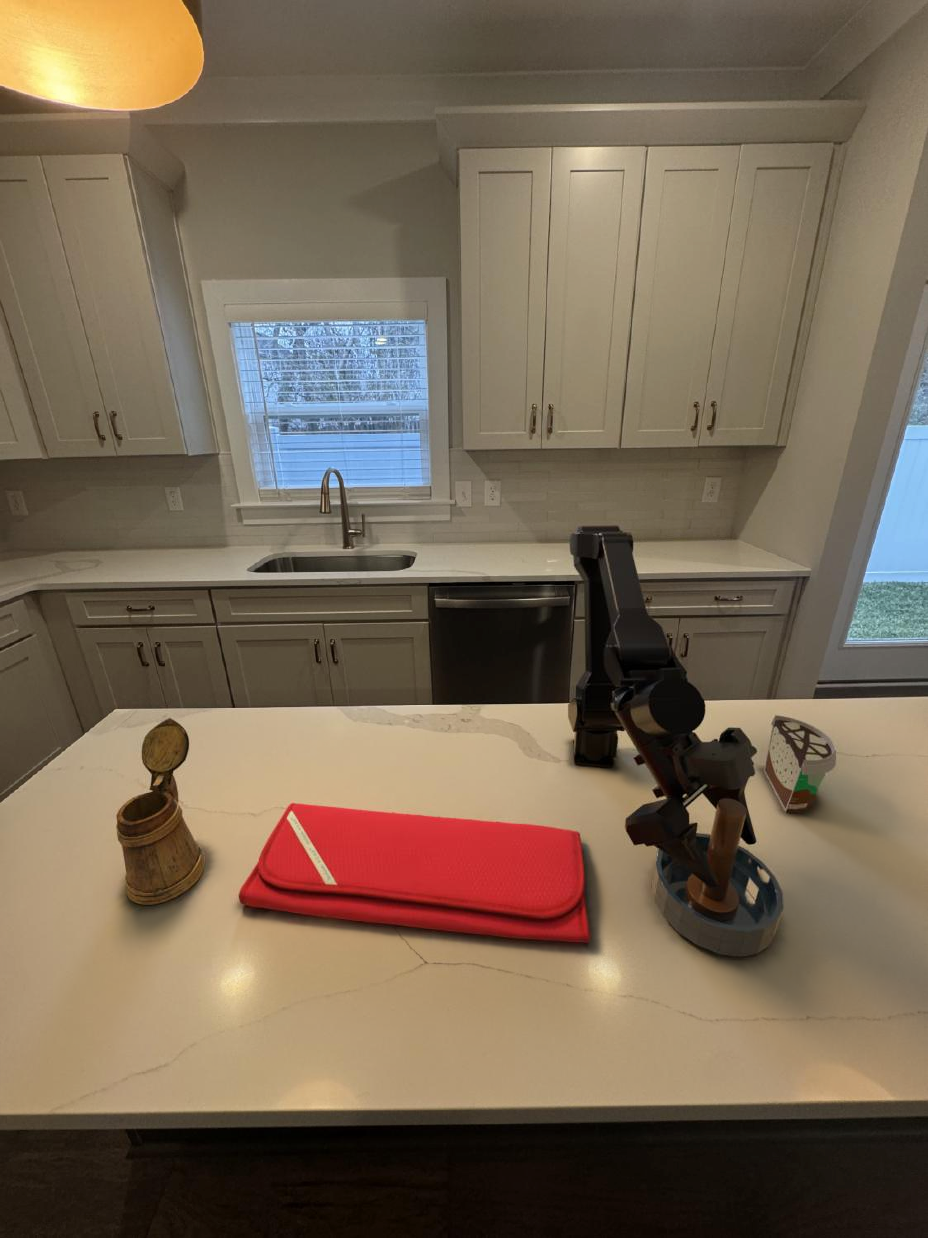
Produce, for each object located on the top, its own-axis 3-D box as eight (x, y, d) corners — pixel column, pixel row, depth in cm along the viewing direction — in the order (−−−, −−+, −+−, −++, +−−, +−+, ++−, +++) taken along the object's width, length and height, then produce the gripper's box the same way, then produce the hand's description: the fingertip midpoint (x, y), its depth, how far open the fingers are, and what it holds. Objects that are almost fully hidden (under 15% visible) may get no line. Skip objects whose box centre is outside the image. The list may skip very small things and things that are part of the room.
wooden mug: (230, 821, 74) (204, 716, 67) (185, 904, 61) (148, 785, 55) (169, 823, 74) (137, 717, 67) (111, 907, 61) (64, 787, 54)
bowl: (662, 950, 55) (668, 921, 54) (643, 853, 67) (647, 827, 66) (794, 969, 53) (804, 939, 51) (750, 866, 65) (757, 839, 63)
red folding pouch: (590, 951, 55) (593, 927, 54) (238, 912, 60) (232, 889, 59) (578, 839, 70) (580, 818, 68) (295, 815, 75) (291, 795, 73)
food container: (837, 825, 71) (857, 767, 67) (789, 819, 72) (806, 762, 69) (802, 769, 82) (817, 717, 79) (760, 765, 83) (773, 713, 80)
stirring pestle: (691, 917, 58) (711, 823, 53) (680, 877, 63) (698, 786, 58) (743, 925, 57) (770, 829, 52) (728, 883, 62) (751, 792, 57)
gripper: (664, 750, 48) (762, 913, 45) (751, 686, 59) (836, 813, 55) (591, 775, 57) (668, 913, 53) (678, 716, 68) (748, 827, 64)
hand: (734, 864), depth 56 cm, fingers open, 9 cm apart
